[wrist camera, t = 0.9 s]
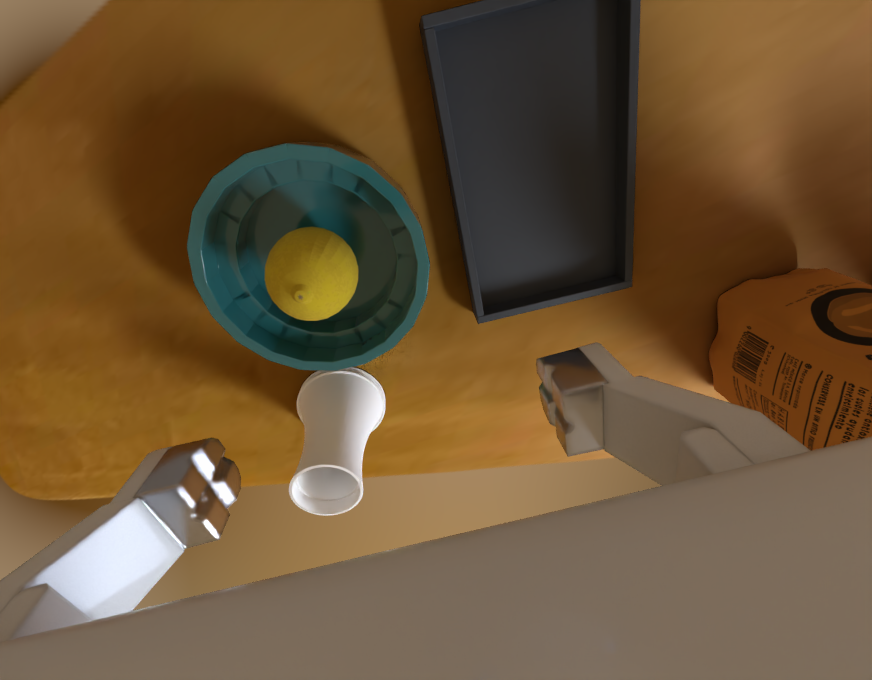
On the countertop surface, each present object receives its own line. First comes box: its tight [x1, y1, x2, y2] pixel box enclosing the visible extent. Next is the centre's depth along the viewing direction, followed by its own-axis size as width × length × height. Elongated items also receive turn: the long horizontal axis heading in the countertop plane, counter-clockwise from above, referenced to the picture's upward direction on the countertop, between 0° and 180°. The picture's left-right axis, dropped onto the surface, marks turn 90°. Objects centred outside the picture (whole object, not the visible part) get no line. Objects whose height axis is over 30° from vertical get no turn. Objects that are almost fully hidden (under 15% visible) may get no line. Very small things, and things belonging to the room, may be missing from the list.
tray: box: [419, 0, 640, 324], centre depth 27 cm, size 19×12×2 cm, turn 12°
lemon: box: [265, 227, 358, 321], centre depth 25 cm, size 6×6×8 cm
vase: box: [289, 367, 385, 515], centre depth 31 cm, size 8×8×10 cm
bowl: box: [187, 141, 430, 371], centre depth 27 cm, size 15×15×4 cm
